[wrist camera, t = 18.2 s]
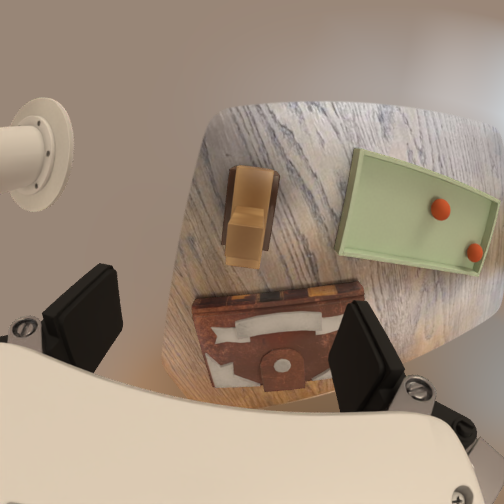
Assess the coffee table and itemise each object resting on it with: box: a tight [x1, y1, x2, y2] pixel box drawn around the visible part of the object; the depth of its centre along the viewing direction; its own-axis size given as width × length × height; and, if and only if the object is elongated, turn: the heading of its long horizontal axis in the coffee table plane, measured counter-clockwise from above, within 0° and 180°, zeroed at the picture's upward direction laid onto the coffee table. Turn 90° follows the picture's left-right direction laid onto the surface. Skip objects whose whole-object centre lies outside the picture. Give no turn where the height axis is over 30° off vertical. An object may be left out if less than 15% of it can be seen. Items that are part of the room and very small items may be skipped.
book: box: [192, 281, 365, 392], centre depth 38 cm, size 23×16×5 cm
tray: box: [334, 149, 501, 277], centre depth 31 cm, size 27×13×2 cm, turn 82°
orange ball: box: [431, 199, 451, 221], centre depth 30 cm, size 3×3×3 cm
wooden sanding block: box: [225, 165, 274, 269], centre depth 23 cm, size 3×9×10 cm, turn 173°
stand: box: [221, 166, 280, 251], centre depth 30 cm, size 5×8×6 cm, turn 173°
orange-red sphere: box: [467, 243, 483, 262], centre depth 32 cm, size 3×3×3 cm
